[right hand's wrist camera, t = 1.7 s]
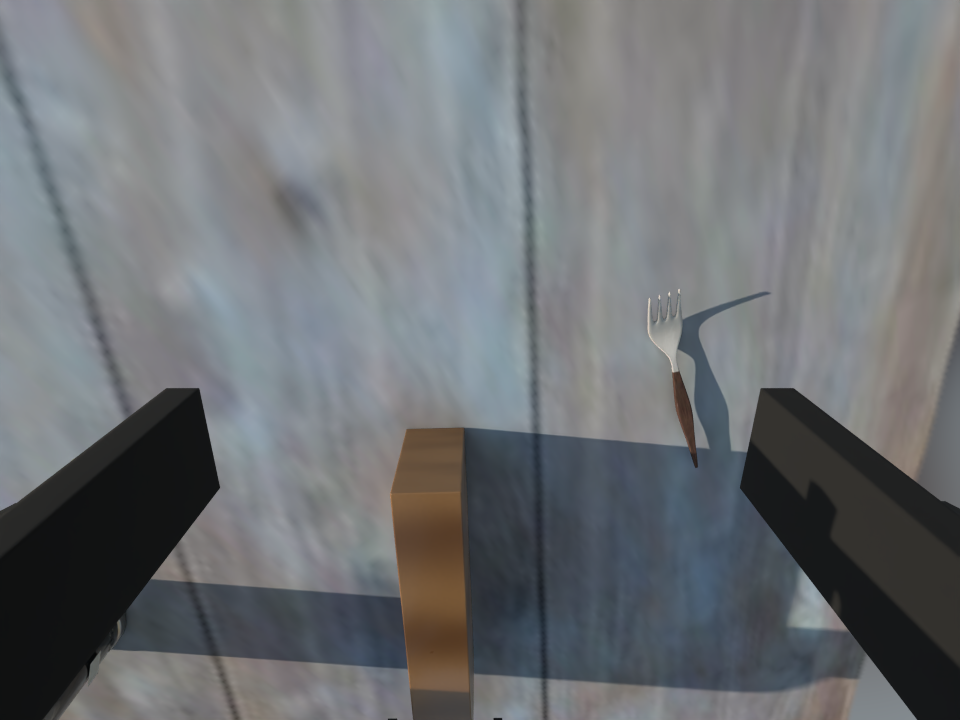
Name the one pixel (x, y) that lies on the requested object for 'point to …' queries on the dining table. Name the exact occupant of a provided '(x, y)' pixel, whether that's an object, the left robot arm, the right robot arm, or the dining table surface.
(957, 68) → the dining table surface
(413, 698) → the bar
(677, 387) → the fork
